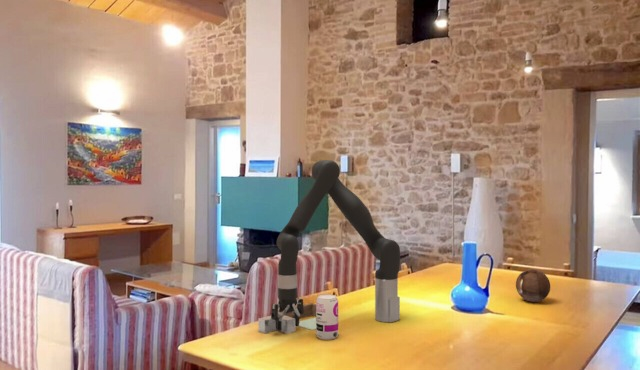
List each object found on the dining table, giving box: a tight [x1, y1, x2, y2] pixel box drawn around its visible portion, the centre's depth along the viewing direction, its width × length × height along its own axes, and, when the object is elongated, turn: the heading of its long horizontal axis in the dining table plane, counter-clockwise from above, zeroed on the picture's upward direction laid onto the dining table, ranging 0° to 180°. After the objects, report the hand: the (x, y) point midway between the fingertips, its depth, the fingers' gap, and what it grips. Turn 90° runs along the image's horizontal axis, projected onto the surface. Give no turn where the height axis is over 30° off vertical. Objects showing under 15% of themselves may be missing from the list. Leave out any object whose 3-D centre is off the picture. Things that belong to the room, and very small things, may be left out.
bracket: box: [258, 315, 296, 334], centre depth 205 cm, size 10×10×5 cm
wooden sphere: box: [515, 268, 551, 303], centre depth 250 cm, size 15×15×15 cm
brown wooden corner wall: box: [281, 302, 316, 320], centre depth 218 cm, size 14×19×5 cm
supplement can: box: [315, 294, 339, 341], centre depth 197 cm, size 8×8×15 cm
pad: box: [298, 317, 316, 331], centre depth 214 cm, size 12×12×1 cm
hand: (287, 328), depth 204 cm, fingers open, 8 cm apart
